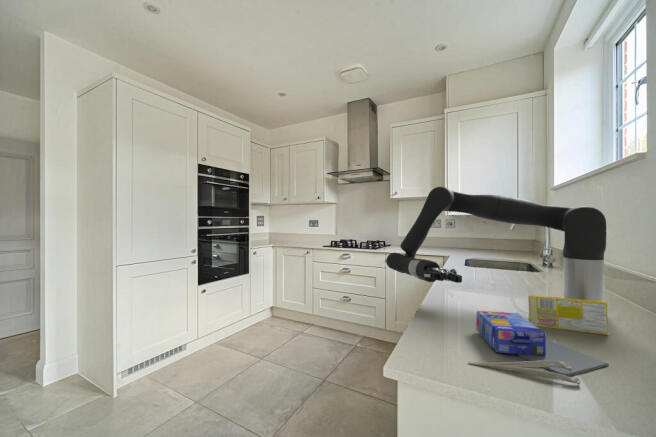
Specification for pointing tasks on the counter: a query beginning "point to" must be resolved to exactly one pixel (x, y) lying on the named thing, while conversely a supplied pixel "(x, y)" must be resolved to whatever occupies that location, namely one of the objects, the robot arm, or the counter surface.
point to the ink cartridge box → (510, 333)
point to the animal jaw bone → (517, 367)
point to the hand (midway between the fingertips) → (460, 279)
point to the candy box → (569, 314)
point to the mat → (566, 359)
